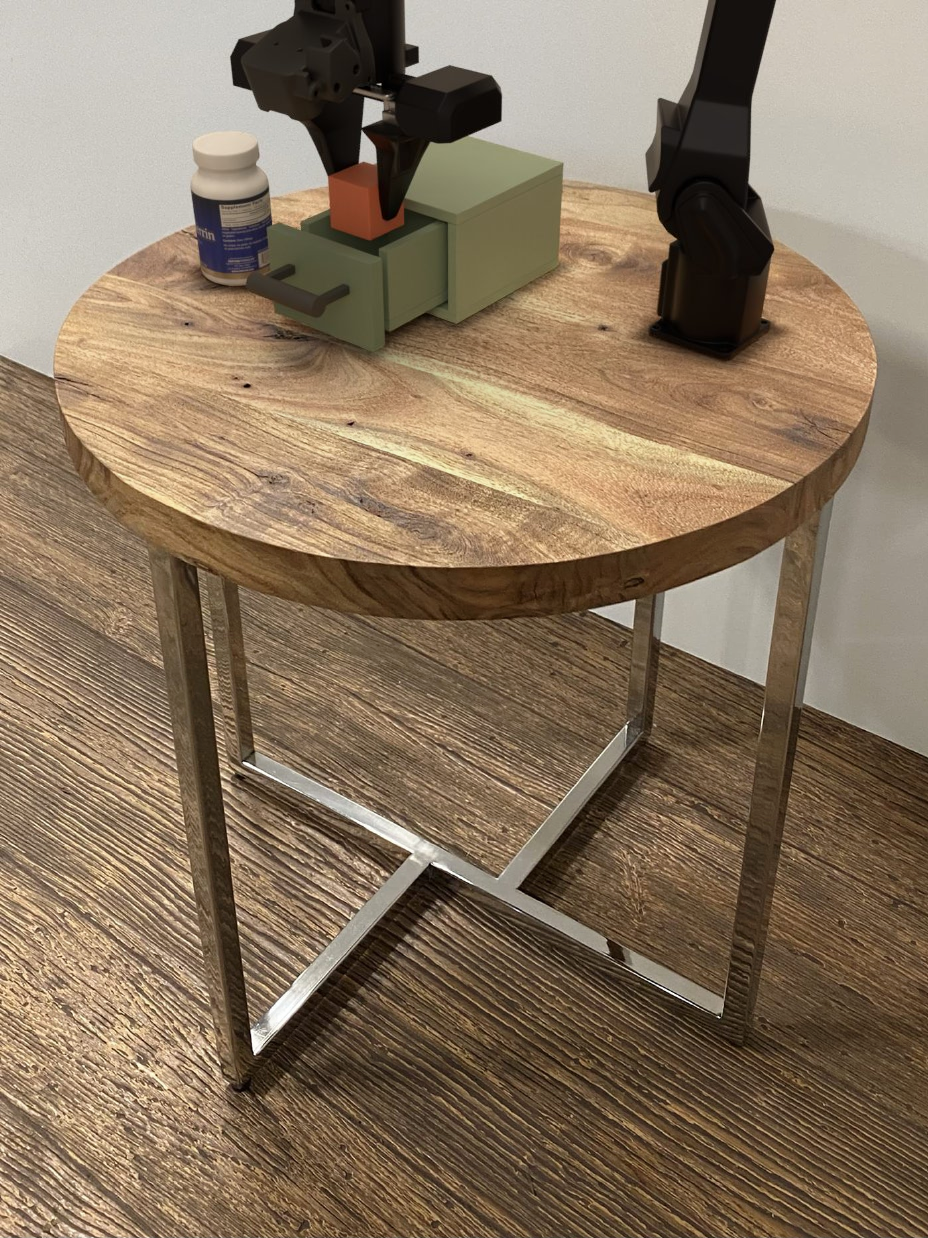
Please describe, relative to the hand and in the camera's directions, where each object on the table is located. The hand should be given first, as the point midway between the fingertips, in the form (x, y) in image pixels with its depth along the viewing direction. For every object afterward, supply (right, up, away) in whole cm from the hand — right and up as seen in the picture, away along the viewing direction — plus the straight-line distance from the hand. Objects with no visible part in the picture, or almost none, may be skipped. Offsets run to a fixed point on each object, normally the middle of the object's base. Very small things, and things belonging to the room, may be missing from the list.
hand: (367, 211), depth 89 cm
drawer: (-1, -6, +4) cm, 7 cm away
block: (0, -1, +1) cm, 1 cm away
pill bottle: (-11, -1, +11) cm, 15 cm away
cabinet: (+6, -1, +11) cm, 12 cm away
